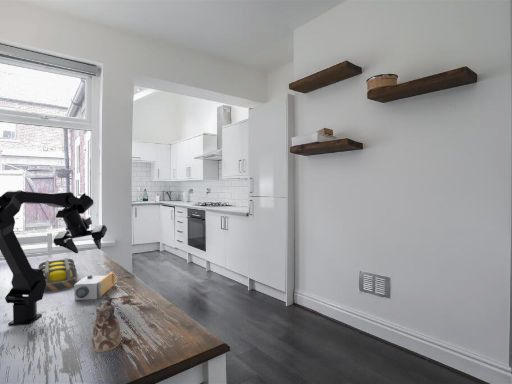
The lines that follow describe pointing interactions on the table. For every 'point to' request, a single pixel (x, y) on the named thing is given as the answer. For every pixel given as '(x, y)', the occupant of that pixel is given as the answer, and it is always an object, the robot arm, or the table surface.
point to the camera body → (87, 288)
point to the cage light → (59, 274)
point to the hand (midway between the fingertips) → (88, 250)
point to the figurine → (106, 328)
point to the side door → (106, 284)
